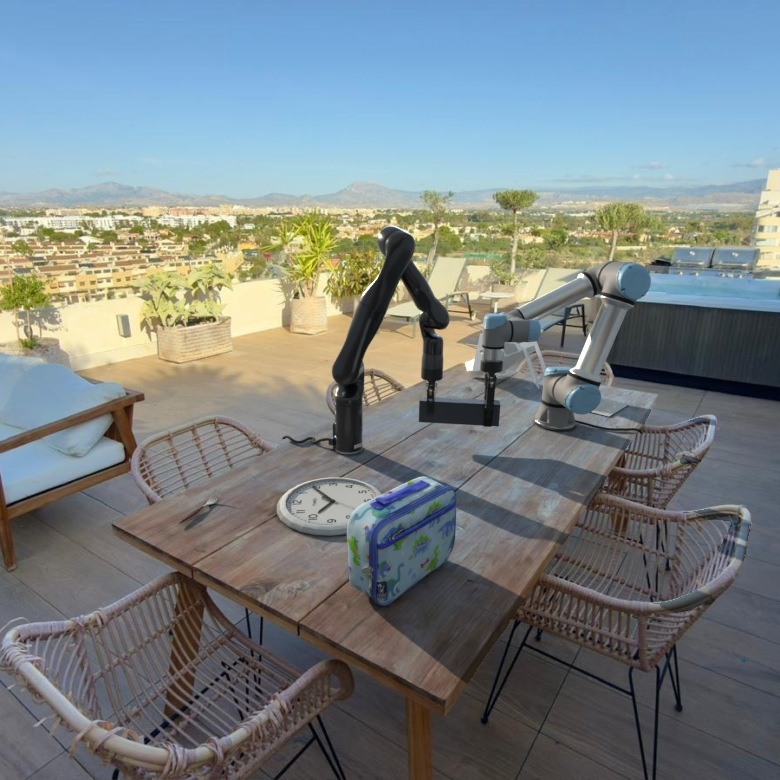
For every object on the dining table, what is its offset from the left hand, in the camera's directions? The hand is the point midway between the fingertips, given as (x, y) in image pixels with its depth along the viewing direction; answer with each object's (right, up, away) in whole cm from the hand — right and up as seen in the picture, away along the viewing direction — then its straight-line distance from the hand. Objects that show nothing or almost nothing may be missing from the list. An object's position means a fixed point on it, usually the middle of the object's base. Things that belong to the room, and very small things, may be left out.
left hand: (430, 411), depth 186 cm
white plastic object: (+42, +11, +72) cm, 84 cm away
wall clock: (-30, -24, -43) cm, 58 cm away
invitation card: (+77, 0, +40) cm, 87 cm away
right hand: (+20, -4, -1) cm, 20 cm away
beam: (+10, -4, 0) cm, 11 cm away
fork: (-65, -25, -47) cm, 84 cm away
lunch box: (-12, -33, -72) cm, 80 cm away
